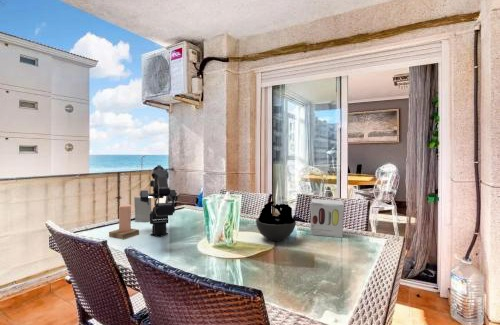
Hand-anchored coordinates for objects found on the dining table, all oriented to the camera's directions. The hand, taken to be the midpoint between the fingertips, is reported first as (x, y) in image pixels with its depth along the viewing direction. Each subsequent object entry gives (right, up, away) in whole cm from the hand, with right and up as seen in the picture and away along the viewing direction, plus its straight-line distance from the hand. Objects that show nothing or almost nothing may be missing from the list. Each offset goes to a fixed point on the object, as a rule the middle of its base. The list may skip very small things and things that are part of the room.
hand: (157, 204), depth 161 cm
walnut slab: (-12, -14, -17) cm, 25 cm away
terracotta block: (-11, -11, -16) cm, 23 cm away
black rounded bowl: (+66, -16, -19) cm, 71 cm away
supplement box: (+96, -16, -5) cm, 97 cm away
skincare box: (-14, -13, +16) cm, 25 cm away
